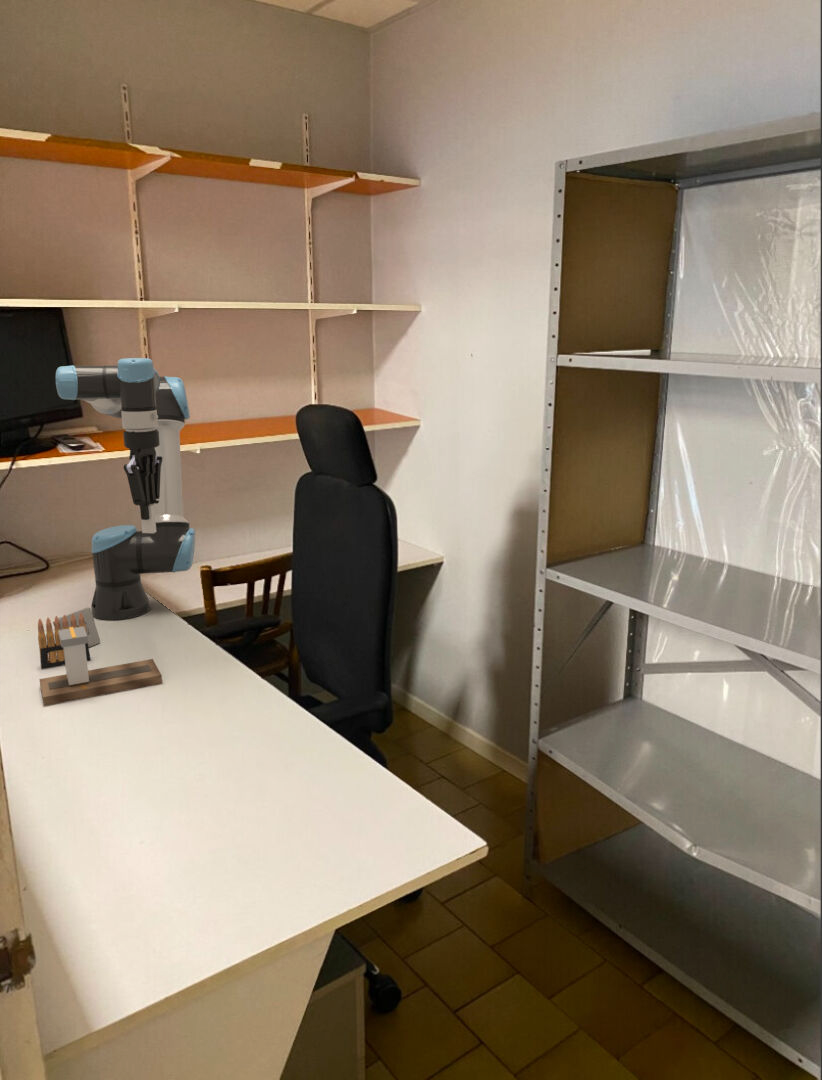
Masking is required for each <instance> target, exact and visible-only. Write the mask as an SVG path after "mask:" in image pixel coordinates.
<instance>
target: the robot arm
mask: <svg viewBox="0 0 822 1080" xmlns="http://www.w3.org/2000/svg"><path fill="white" fill-rule="evenodd" d="M55 386H56V387H55V388H56V391H57V395H58V397H59V398H61V399H62V400H70V401H75V400H79V401H80V400H81V401H85V402H87V403H89V404H90V405H91V406H92V407H93V409H94V410H96V411H97V412H98V413H100V414H102V415H106V416H108V417H111V418H115V419H121V423H122V424H121V425H122V428H123V429H124V432H123V433H122V436H123V445H124V447H125V448H127V449H129V462H128V464H124V465H123V471H125V474H126V476H127V482H128V485H129V486H128V487H129V490H130V494H131V498H132V499H131V500H132V503H133V505H135V506H139V510H140V511H139V512H140V519H141V520H140V521H141V530H138V528H137V527H136V525H134V524H121V525H116V526H111V527H107V528H104V529H101V530H99V531H97V532H95V533H94V535H93V536H92V538H91V551H90V552H91V554H92V561H93V571H94V579H95V580H94V583H95V589H94V592H93V597H92V601H91V606H90V609H91V612H92V615H93V618H96V619H99V620H105V621H117V620H118V621H119V620H126V619H132V618H135V617H139V616H142V615H144V614H145V613H147V612H148V611H149V610H150V607H151V606H150V605H151V604H150V599H149V597H148V594H147V593H146V590H145V588H144V585H143V583H142V581H141V575H142V574H144V575H145V574H146V575H147V574H161V573H176V572H177V573H179V572H186V571H189V570H190V569H191V568H192V566H193V563H194V558H195V557H194V556H195V547H196V546H195V545H196V530H195V529H194V528H192V527H190V522H189V521H188V520H187V519H186V518H185V517H184V502H183V484H182V482H183V481H182V480H183V479H182V457H181V437H180V434H181V433H180V432H181V431H182V429H184V427H185V425H186V424H185V423H186V421H187V420H189V419H190V417H191V416H190V407H189V403H188V397H187V392H186V387H185V384H184V381H183V380H182V378H180V377H177V376H166V375H164V376H160V375H159V373H158V371H157V370H156V369H155V368H154V362H153V360H152V359H151V358H146V357H129V358H127V357H126V358H120V359H119V360H118V361H117V364H116V365H73V364H72V365H66V366H65V365H63V366H59V367H57V369H56V371H55Z"/></svg>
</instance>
